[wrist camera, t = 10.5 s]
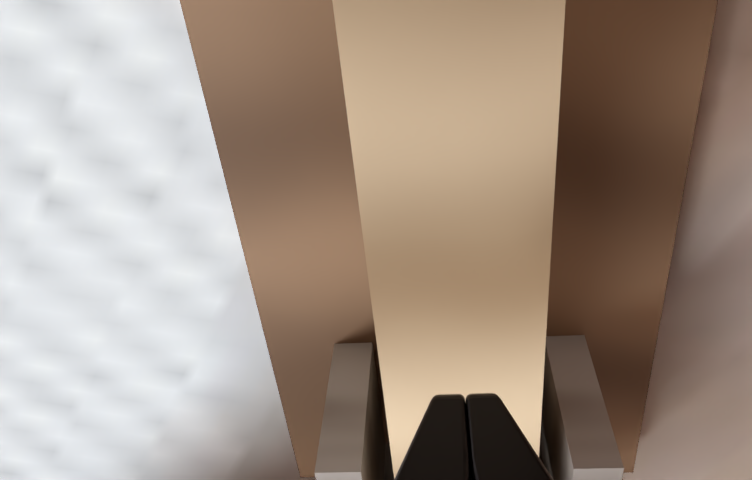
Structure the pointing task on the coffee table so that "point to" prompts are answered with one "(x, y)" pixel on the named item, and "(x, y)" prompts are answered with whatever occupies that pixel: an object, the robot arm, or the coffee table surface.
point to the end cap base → (345, 239)
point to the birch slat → (455, 195)
